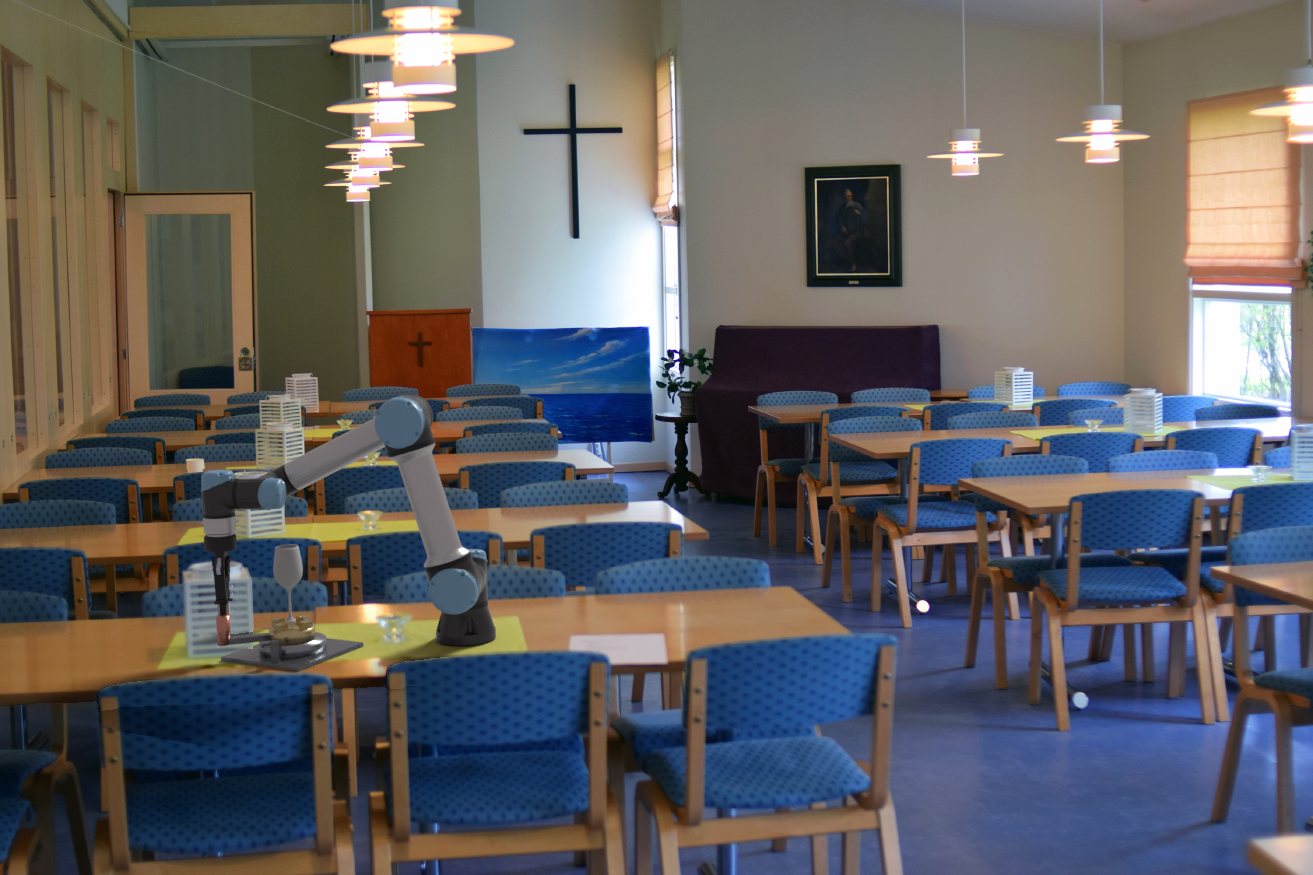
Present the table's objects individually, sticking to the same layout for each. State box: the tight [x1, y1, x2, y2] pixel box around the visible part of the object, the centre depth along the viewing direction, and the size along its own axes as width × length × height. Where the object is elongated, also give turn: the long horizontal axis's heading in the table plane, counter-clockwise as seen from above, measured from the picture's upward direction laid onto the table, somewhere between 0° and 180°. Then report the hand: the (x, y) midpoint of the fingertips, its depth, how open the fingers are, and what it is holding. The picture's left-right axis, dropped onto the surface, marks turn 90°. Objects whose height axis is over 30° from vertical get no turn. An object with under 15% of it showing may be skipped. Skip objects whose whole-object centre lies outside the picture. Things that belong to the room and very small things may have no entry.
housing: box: [220, 631, 364, 672], centre depth 322 cm, size 24×24×6 cm
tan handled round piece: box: [215, 614, 317, 647], centre depth 320 cm, size 23×11×7 cm, turn 111°
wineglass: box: [272, 544, 304, 622], centre depth 353 cm, size 8×8×21 cm
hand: (224, 628), depth 320 cm, fingers closed
